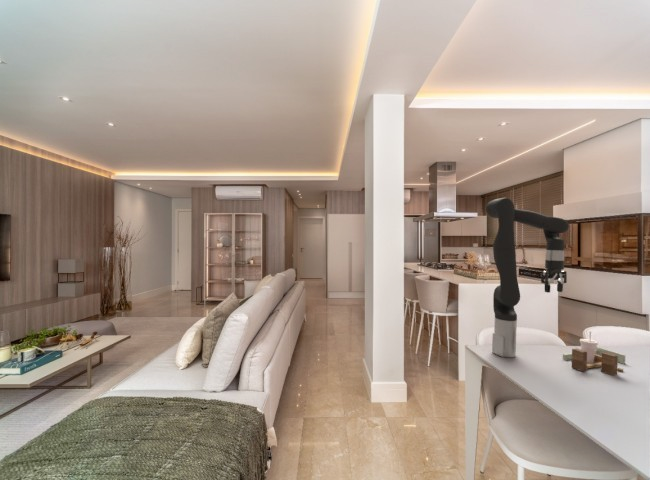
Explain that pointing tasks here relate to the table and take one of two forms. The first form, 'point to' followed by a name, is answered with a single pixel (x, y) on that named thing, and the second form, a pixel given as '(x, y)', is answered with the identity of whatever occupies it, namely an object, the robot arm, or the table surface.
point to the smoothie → (589, 348)
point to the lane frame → (599, 352)
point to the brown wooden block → (610, 364)
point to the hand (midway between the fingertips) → (553, 292)
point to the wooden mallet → (584, 360)
